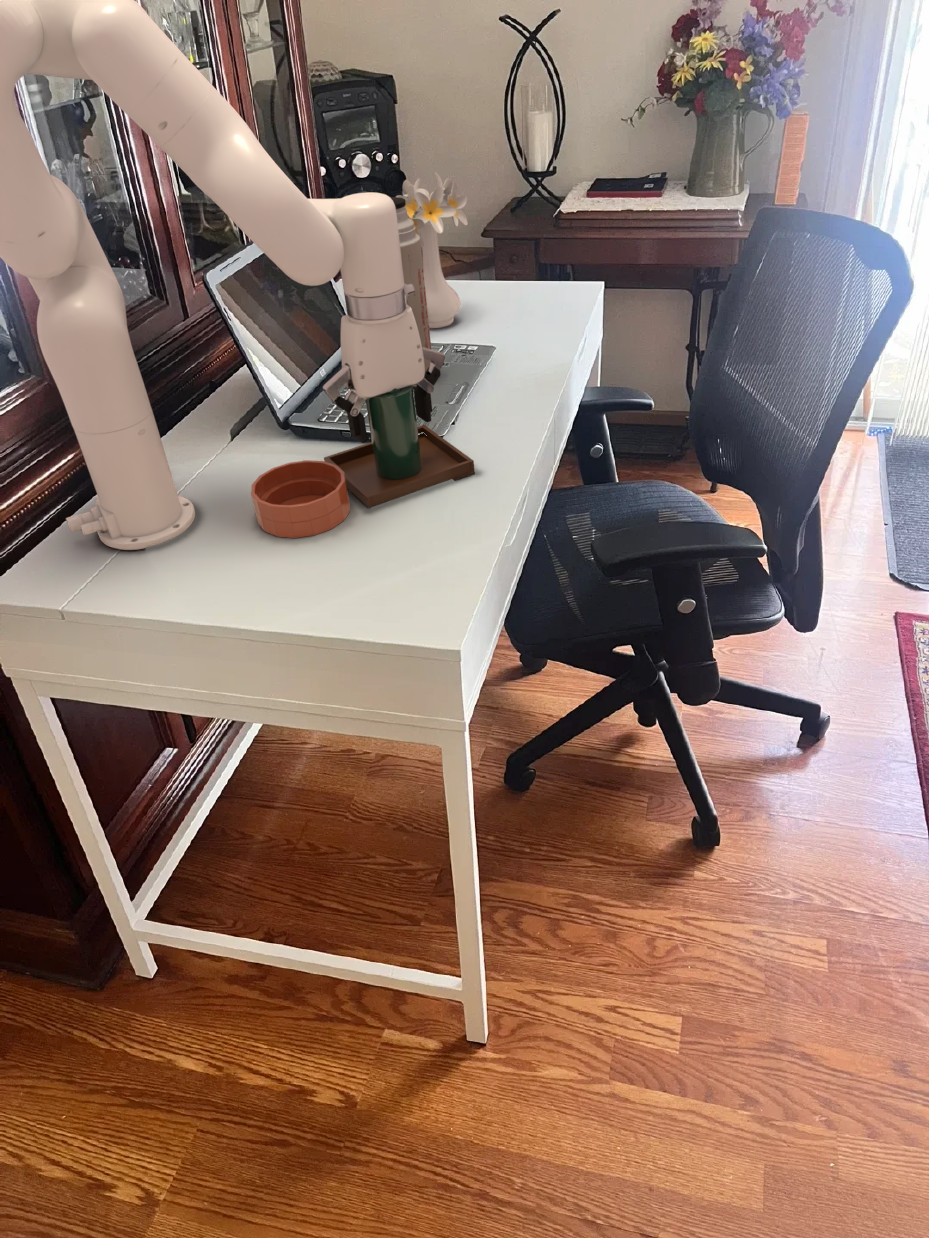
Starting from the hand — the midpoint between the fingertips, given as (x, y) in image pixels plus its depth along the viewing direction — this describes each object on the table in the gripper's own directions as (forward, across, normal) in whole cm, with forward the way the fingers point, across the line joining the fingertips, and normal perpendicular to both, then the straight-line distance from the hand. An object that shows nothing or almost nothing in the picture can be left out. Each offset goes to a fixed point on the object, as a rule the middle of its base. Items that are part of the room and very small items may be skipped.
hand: (392, 428), depth 127 cm
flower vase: (+7, -33, -47) cm, 58 cm away
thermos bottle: (+7, -17, -28) cm, 33 cm away
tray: (+7, 0, 0) cm, 7 cm away
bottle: (+6, 0, 0) cm, 6 cm away
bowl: (+7, +15, +3) cm, 17 cm away
